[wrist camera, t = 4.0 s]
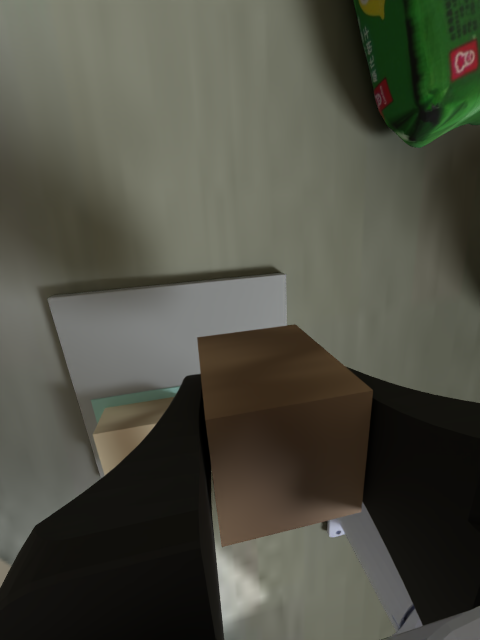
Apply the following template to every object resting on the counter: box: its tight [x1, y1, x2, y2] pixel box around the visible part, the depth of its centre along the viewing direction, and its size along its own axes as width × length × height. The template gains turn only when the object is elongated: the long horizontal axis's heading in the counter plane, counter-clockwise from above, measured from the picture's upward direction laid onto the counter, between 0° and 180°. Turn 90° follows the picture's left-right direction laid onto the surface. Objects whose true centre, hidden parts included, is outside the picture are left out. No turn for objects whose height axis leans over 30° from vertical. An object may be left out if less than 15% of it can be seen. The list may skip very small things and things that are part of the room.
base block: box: [93, 397, 174, 475], centre depth 18 cm, size 5×5×2 cm
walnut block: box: [197, 325, 373, 547], centre depth 9 cm, size 4×4×5 cm
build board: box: [47, 273, 287, 478], centre depth 19 cm, size 14×14×1 cm
